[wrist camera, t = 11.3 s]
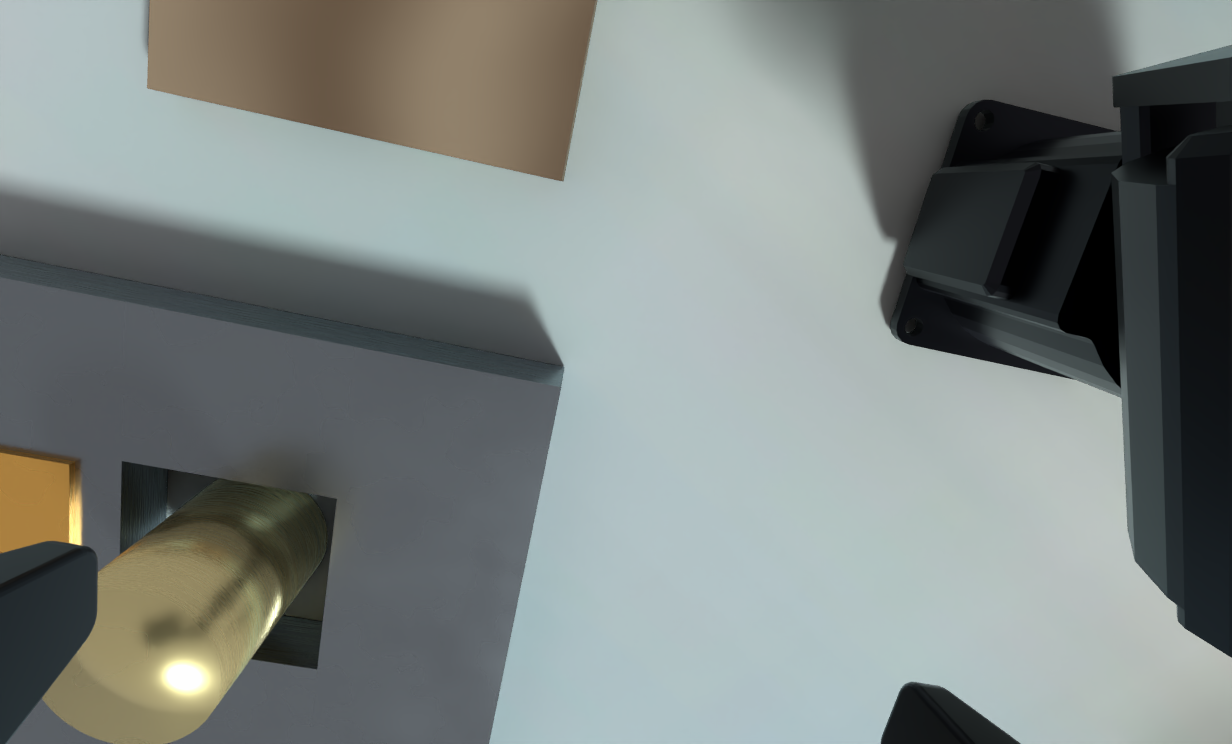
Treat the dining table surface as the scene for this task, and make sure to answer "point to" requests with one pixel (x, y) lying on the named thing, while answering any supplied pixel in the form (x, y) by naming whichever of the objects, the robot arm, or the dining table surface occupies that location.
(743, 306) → the dining table surface
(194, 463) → the hole plate
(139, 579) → the brass peg
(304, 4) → the pad
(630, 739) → the dining table surface
